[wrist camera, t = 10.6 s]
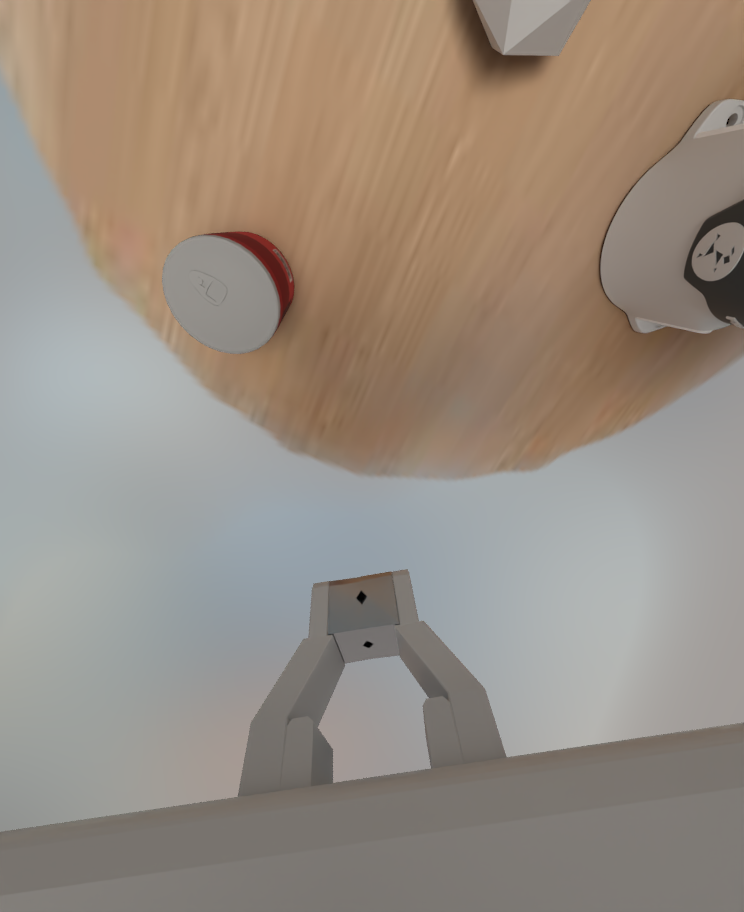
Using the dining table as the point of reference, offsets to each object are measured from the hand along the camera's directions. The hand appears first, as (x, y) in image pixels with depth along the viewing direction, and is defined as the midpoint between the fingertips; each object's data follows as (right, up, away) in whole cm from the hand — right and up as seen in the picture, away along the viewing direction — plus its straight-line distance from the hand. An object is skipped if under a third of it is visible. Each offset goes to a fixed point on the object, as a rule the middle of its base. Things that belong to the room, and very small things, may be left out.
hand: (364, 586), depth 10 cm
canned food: (-11, +22, +22) cm, 33 cm away
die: (+10, +37, +13) cm, 41 cm away
